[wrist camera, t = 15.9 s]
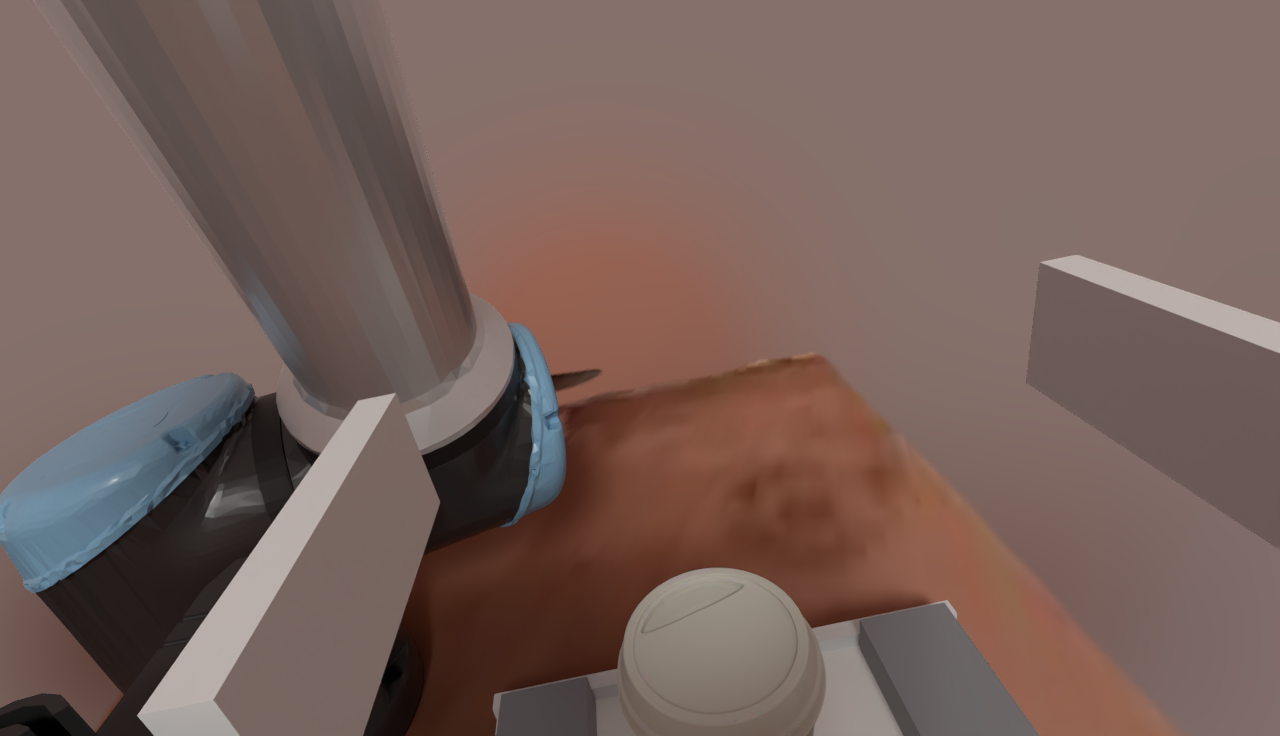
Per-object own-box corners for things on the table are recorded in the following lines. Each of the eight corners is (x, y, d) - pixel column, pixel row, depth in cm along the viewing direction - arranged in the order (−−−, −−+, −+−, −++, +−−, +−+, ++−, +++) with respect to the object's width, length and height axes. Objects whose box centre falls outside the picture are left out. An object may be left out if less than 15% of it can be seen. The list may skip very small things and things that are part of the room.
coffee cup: (823, 726, 32) (814, 557, 27) (844, 930, 25) (836, 750, 19) (666, 717, 34) (630, 557, 29) (641, 903, 27) (585, 732, 21)
